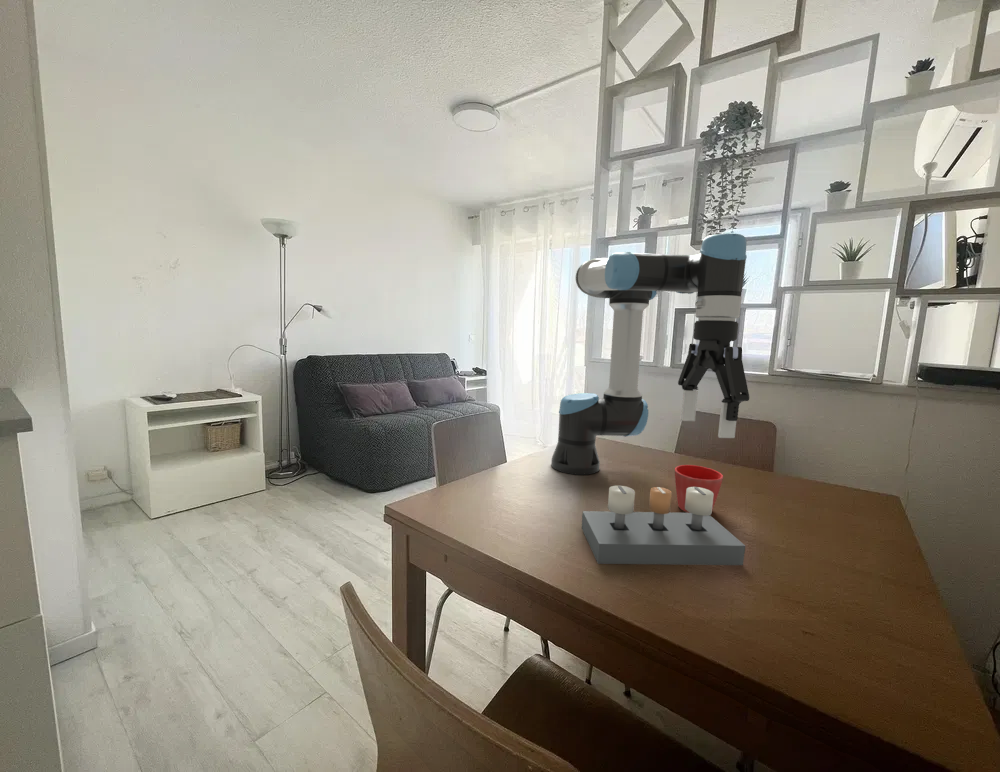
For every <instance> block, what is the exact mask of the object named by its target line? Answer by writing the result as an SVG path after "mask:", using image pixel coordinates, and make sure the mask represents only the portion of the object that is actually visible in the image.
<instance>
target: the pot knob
mask: <svg viewBox="0 0 1000 772" xmlns="http://www.w3.org/2000/svg"><path fill="white" fill-rule="evenodd" d="M649 492H650V493H649V503H648V506H649V507H648V509H649V510H650V512H654V517H653V527H654V528H655V529H663V523H664V514H668V513H669V512H671V503H672V493H673V492H672V491H671V490H670V489H668V488H665V487H660V486H656V487H655V486H654V487H651V488H650V491H649Z"/></svg>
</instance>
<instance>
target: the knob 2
mask: <svg viewBox="0 0 1000 772" xmlns="http://www.w3.org/2000/svg"><path fill="white" fill-rule="evenodd" d="M713 496H714V493H713V492H712V491H710V490H708V489H705V488H700V487H689V488H687V490H686V500H685V509H686V510H687V511H688V512H690V513H692V521H691V528H693V529H695V530H701V529H702V520H703V516H708V515H710V516H711V515H712V512H713V510H712V505H713Z"/></svg>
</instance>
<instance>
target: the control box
mask: <svg viewBox="0 0 1000 772" xmlns="http://www.w3.org/2000/svg"><path fill="white" fill-rule="evenodd" d="M581 517H582V518H581V530H582V533H583V534H584V536H585V539H586V541H587V543H588V546H589V547H590V550H591V552H592V554H593V556H594V558H595V560H596V561H595V562H596V563H597V564H598V565H599V564H606V565H607V564H608V565H609V564H610V565H615V564H617V565H677V566H680V565H682V566H683V565H691V566H692V565H693V566H695V565H696V566H704V565H705V566H744V561H745V554H746V553H745V552H746V551H745V550H746V545H745V544H744V543H743V542H742V541H741V540H739V539H738V537H736V536H735V535H733V534H732V533H731V532H730V530H728V529H726V528H725V527H724V526H723V525H722V524H721V523H719V522H718V520H716V519H715V518H714V517H712V516H711V515H708V516H703V520H702V529H701V530H695V529H693V528H691V521H692V513H687V512H673V511H672V512H671V511H670V512H669V513H668V514H664V523H663V529H655V528H654V527H653V517H654V512H653V511H633V513H631V514H625V526H624V528H623V529H618V528H616V527H614V522H615V513H614V512H612V511H610V510H609V511H608V510H607V511H599V510H598V511H597V510H595V511H591V510H582V515H581Z"/></svg>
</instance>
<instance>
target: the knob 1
mask: <svg viewBox="0 0 1000 772" xmlns="http://www.w3.org/2000/svg"><path fill="white" fill-rule="evenodd" d="M635 491H636V490H634V489H633V488H631V487H629V486H626V485H612V486H609V488H608V500H607V501H608V502H607V503H608V504H607V509H608V510H609V512H614V513H615V522H614V527H616V528H618V529H623V528H624V526H625V514H631V513H633V512H634V510H635V509H634V507H635V506H634V505H635V496H636V492H635Z"/></svg>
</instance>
